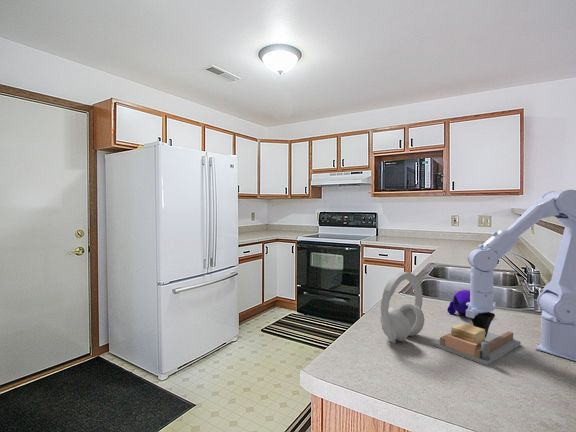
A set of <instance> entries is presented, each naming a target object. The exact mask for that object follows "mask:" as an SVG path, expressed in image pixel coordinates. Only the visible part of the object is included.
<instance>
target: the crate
mask: <svg viewBox="0 0 576 432" xmlns="http://www.w3.org/2000/svg"><path fill="white" fill-rule="evenodd" d="M450 333H452V336H454V337H457V338H460V339H463V340H466V341H469V342H472V343H475V344H477V348H478V347H480V346H481V342H485V334H486V332H485V329H482V328H479V327H475V326H472V325H470V324H468V323H465V322H461V323H459V324H457V325H454V326H452V327H451V330H450Z"/></svg>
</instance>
